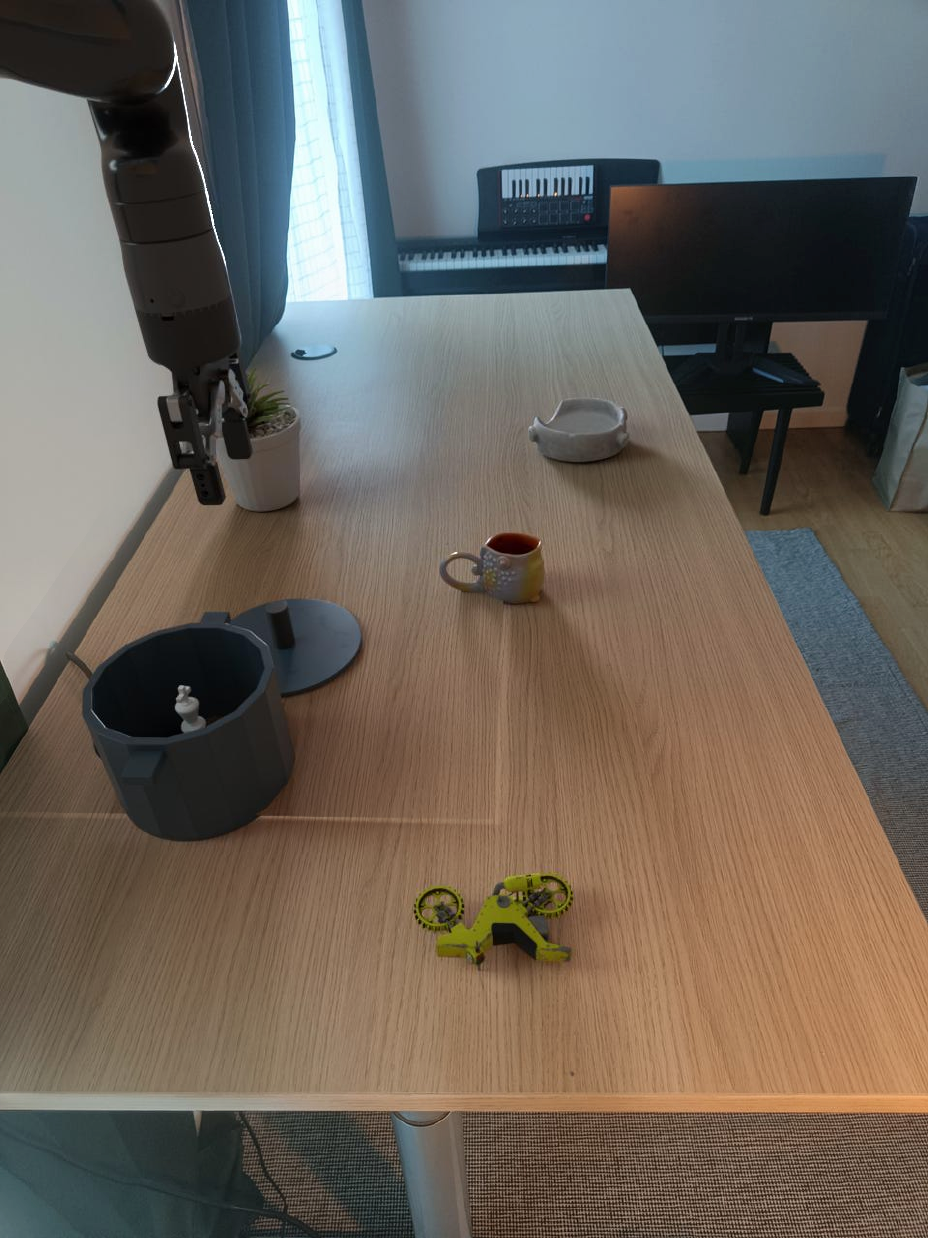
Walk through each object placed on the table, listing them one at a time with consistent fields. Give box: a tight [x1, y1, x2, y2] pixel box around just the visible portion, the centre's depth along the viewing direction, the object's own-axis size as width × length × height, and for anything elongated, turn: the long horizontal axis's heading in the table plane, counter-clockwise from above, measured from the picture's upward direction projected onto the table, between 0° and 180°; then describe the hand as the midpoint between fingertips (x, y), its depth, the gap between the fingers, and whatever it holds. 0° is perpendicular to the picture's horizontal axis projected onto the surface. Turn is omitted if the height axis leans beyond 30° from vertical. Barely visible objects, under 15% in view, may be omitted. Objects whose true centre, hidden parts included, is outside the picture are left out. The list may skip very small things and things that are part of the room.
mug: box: [438, 531, 546, 605], centre depth 99 cm, size 12×7×7 cm, turn 90°
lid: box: [229, 597, 363, 698], centre depth 92 cm, size 17×17×6 cm
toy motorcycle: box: [412, 871, 574, 972], centre depth 64 cm, size 12×4×7 cm
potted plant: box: [204, 366, 302, 513], centre depth 116 cm, size 13×14×20 cm
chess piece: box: [175, 685, 207, 733], centre depth 77 cm, size 5×5×10 cm
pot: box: [81, 611, 296, 842], centre depth 77 cm, size 16×21×12 cm
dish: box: [527, 397, 630, 463], centre depth 129 cm, size 14×14×5 cm
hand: (227, 479), depth 77 cm, fingers open, 8 cm apart
